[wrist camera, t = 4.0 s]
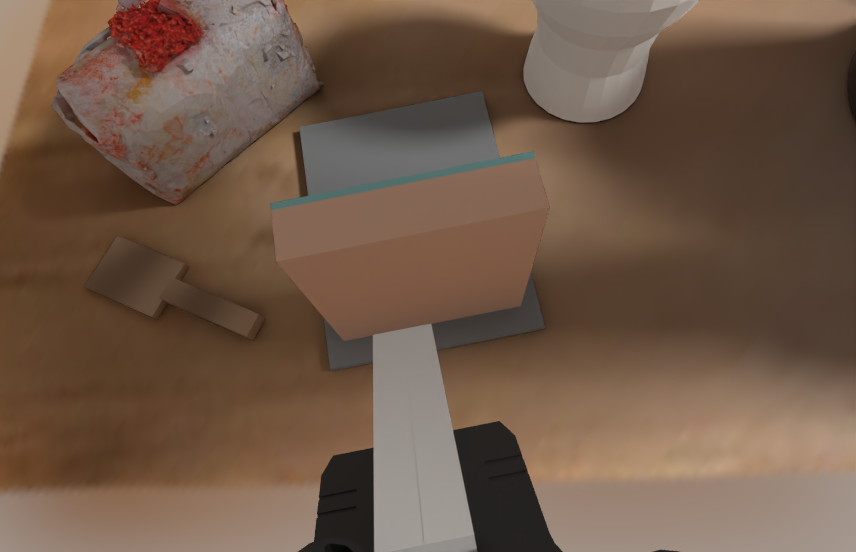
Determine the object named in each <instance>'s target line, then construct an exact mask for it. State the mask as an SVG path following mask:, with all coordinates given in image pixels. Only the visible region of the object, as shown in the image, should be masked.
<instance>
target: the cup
mask: <svg viewBox="0 0 856 552" xmlns="http://www.w3.org/2000/svg"><path fill="white" fill-rule="evenodd" d="M532 1H533V3H534V4H535V6H536V8H537V27H536V30H535V33H534V35H533V38H532V40H531V43H530V46H529V50H528V53H527V57H526V60H525V64H524V67H523V74H524V82H525V85H526V88H527V90H528V93H529V94H530V95H531V97H532V98H533V99H534V101H535V102H536V103H537V104H538V105H539V106H540V107H542V108H543V109H544V110H546V111H547V112H548V113H550V114H552V115H555V116H557V117H559V118H561V119H564V120H569V121H574V122H598V121H602V120H606V119H610V118H612V117H614V116H616V115H618V114H620V113H622V112H624V111H625V110H626V109H627V108H628V107H629V106H630V105H631V104H632V103H634V102H635V100H636V98H637V96H638V95H639V93H640V91H641V89H642V85H643V81H644V77H645V72H646V68H647V62H648V57H649V51H650V47H651V46H652V44H653V42H654V41H655V39H656V38H657V36H658V35H659V33H660V32H661V31H663V30H664V29H666V28H667V27H669V26H670V25H672V24H673V23H675V22H676V21H678V20H679V19H680V18H681V17H682V16H683V15H685V14H686V13H687V12H688V11H689V10H690V9H691V8H692V7H693V6H694V5H695V4H696V3H697V2H698V1H699V0H532Z"/></svg>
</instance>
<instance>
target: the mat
mask: <svg viewBox="0 0 856 552" xmlns="http://www.w3.org/2000/svg"><path fill="white" fill-rule="evenodd" d="M300 135H301V143H302V151H303V159H304V167H305V175H306V183H307V191H308V196H310V195H315V194H320V193H325V192H330V191H335V190H340V189H345V188H350V187H355V186H360V185H365V184H370V183H375V182H380V181H385V180H390V179H396V178H401V177H406V176H411V175H416V174H421V173H426V172H431V171H436V170H441V169H446V168H451V167H456V166H461V165H466V164H471V163H476V162H481V161H487V160H492V159H497V158H500V156H499V152H498V149H497V145H496V141H495V137H494V134H493V130H492V126H491V123H490V119H489V115H488V111H487V108H486V104H485V100H484V97H483V93H482V91H479V92H474V93H469V94H464V95H459V96H454V97H449V98H444V99H439V100H433V101H428V102H423V103H418V104H413V105H408V106H403V107H398V108H393V109H388V110H383V111H378V112H373V113H368V114H363V115H358V116H352V117H347V118H342V119H337V120H332V121H327V122H322V123H317V124H312V125H307V126H302V127H300ZM324 325H325V333H326V341H327V349H328V357H329V365H330V370H332V371H336V370H341V369H346V368H351V367H356V366H361V365H366V364H371V363H373V336H368V337H363V338H358V339H353V340H348V341H343V339H342V338H341V337H340V336H339V335H338V334H337V332H336V331H335V330H334V329H333V328H332V326H331V325H330V324H329V323H328V322H327V321H326V319H325V318H324ZM431 325H432V330H433V335H434V340H435V345H436V350H442V349H447V348H452V347H457V346H462V345H467V344H472V343H477V342H482V341H487V340H492V339H497V338H502V337H507V336H512V335H517V334H522V333H527V332H532V331H537V330H542V329H544V328H545V323H544V320H543V316H542V312H541V309H540V305H539V301H538V297H537V294H536V290H535V286H534V283H533V279H532V275H531V273H530V276H529V280H528V283H527V287H526V290H525V293H524V297H523V300H522V304H521V306H519V307H514V308H509V309H504V310H499V311H494V312H489V313H484V314H479V315H474V316H469V317H464V318H459V319H454V320H449V321H443V322H438V323H433V324H431Z"/></svg>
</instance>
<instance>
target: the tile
mask: <svg viewBox="0 0 856 552" xmlns="http://www.w3.org/2000/svg"><path fill="white" fill-rule="evenodd" d="M270 205H271V215H272V225H273V235H274V245H275V255H276V262H277V263H278V265H279V266H280V267H281V268H282V269H283V270H284V272H285V273H286V274H287V275H288V276H289V277H290V279H291V280H292V281H293V282H294V283H295V284H296V286H297V287H298V288H299V289H300V290H301V291H302V293H303V294H304V295H305V296H306V297H307V298H308V300H309V301H310V302H311V303H312V304H313V305H314V307H315V308H316V309H317V310H318V311H319V312H320V314H321V315H322V316H323V317H324V318H325V319H326V321H327V322H328V323H329V324H330V325H331V326H332V328H333V329H334V330H335V331H336V332H337V334H338V335H339V336H340V337H341V338H342V339H343V341H348V340H353V339H358V338H363V337H368V336H373V335H375V334H380V333H385V332H390V331H395V330H400V329H405V328H411V327H416V326H421V325H426V324H433V323H438V322H443V321H449V320H454V319H459V318H464V317H469V316H474V315H479V314H484V313H489V312H494V311H499V310H504V309H509V308H514V307H519V306H521V304H522V300H523V297H524V293H525V290H526V287H527V283H528V280H529V276H530V273H531V270H532V266H533V263H534V259H535V256H536V253H537V249H538V246H539V243H540V239H541V236H542V232H543V229H544V226H545V222H546V219H547V215H548V212H549V209H550V207H549V203H548V200H547V196H546V193H545V190H544V186H543V183H542V179H541V176H540V173H539V169H538V166H537V162H536V159H535V156H534V152H533V151H532V152H527V153H522V154H517V155H512V156H507V157H502V158H497V159H492V160H487V161H481V162H476V163H471V164H466V165H461V166H456V167H451V168H446V169H441V170H436V171H431V172H426V173H421V174H416V175H411V176H406V177H401V178H396V179H390V180H385V181H380V182H375V183H370V184H365V185H360V186H355V187H350V188H345V189H340V190H335V191H330V192H325V193H320V194H315V195H310V196H305V197H299V198H294V199H289V200H284V201H279V202H274V203H270Z"/></svg>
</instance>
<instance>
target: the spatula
mask: <svg viewBox="0 0 856 552" xmlns="http://www.w3.org/2000/svg"><path fill="white" fill-rule="evenodd" d="M188 268H189V266H187V265H186V264H185V263H183V262H180V261H178V260H175V259H173V258H171V257H168V256H166V255H163V254H161V253H159V252H156V251H154V250H151V249H149V248H146V247H144V246H142V245H139V244H137V243H134V242H132V241H130V240H127V239H125V238H122V237H120V236H117V237H116V238H115V240H114V241H113V243H112V244H111V246H110V248H109V249H108V251H107V252H106V254H105V255H104V257H103V258H102V260H101V261H100V263H99V264H98V266H97V267H96V269H95V270H94V272H93V273H92V275H91V277H90V278H89V280H88V281H87V283H86V284H85V286H84V287H85V288H87V289H89V290H91V291H94V292H96V293H98V294H100V295H103V296H105V297H107V298H109V299H112V300H114V301H116V302H118V303H121V304H123V305H125V306H127V307H130V308H132V309H134V310H136V311H139V312H141V313H143V314H145V315H148V316H150V317H152V318H154V319H156V320H158V318H159V316H160V315H161V313H162V311H163V310H164V308H165V306H166V305H167V303H168V304H170V305H172V306H175V307H177V308H179V309H181V310H184V311H186V312H188V313H191V314H193V315H195V316H197V317H200V318H202V319H204V320H207V321H209V322H211V323H214V324H216V325H218V326H220V327H223V328H225V329H227V330H230V331H232V332H234V333H237V334H239V335H241V336H243V337H246V338H248V339H250V340H253V341H254V339H255V337H256V335H257V333H258V331H259V330H260V328H261V326H262V324H263V322H264V320H265V318H263V317H262V316H261V315H260V314H258V313H255V312H253V311H251V310H248V309H246V308H244V307H241V306H239V305H237V304H234V303H232V302H229V301H227V300H225V299H222V298H220V297H218V296H215V295H213V294H210V293H208V292H206V291H203V290H201V289H199V288H196V287H194V286H192V285H189V284H187V283H184V282H182V281H181V280H182V278H183V276H184V275H185V273H186V271H187V270H188Z"/></svg>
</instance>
